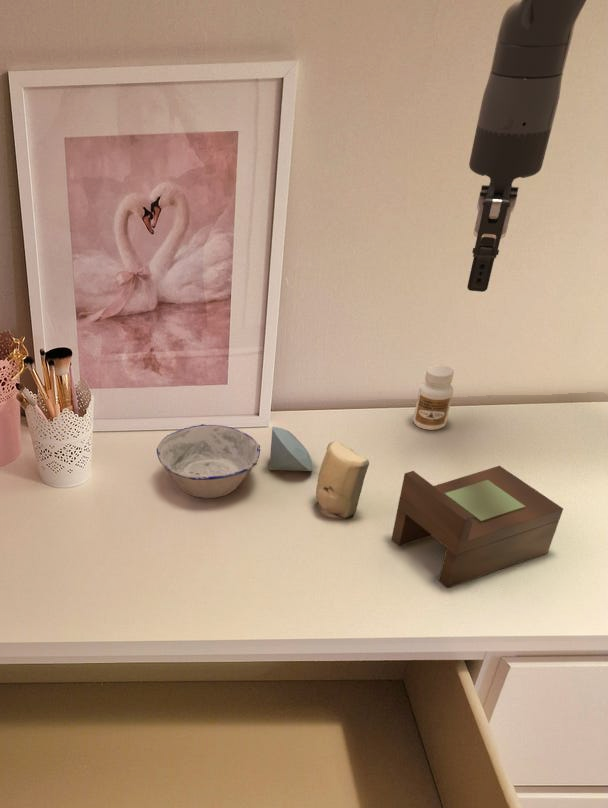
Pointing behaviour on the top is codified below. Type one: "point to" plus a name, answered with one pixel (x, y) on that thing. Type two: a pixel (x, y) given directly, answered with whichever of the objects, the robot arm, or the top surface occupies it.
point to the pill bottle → (434, 398)
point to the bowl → (208, 459)
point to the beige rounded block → (340, 481)
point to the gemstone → (288, 452)
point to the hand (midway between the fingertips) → (479, 276)
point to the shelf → (476, 521)
